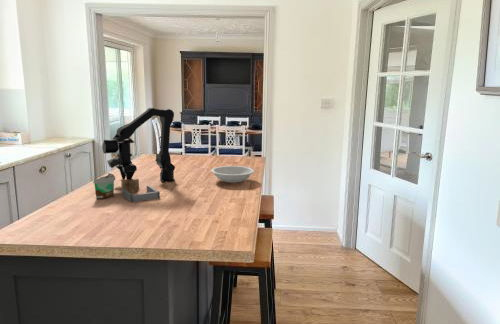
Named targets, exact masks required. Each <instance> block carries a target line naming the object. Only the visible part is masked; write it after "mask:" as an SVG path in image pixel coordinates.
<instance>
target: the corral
mask: <svg viewBox="0 0 500 324" xmlns="http://www.w3.org/2000/svg"><path fill="white" fill-rule="evenodd" d="M121 195H122V197H124V198H125V199H126V200H127V201H128V202H129V203H136V202H142V201H149V200H154V199H155V200H156V199H160V198H161V195H160V191H159V190H158V189H156V188H154V187H153V186H151V185H146V192H145V193H138V194H136V193H135V194H133V193H132V192H129V190H125V189H122V188H121Z"/></svg>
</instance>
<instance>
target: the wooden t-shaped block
mask: <svg viewBox="0 0 500 324" xmlns="http://www.w3.org/2000/svg"><path fill="white" fill-rule="evenodd" d="M120 182H121V183H120V184H121V190H122V189H125V190H127V191H128V192H129V191H130V193H131V194H133V193H138V190H139V189H140V181H139V178H138V177H136V178H132V179H126V178H125V180H123V179H121V180H120Z"/></svg>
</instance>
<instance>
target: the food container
mask: <svg viewBox="0 0 500 324" xmlns="http://www.w3.org/2000/svg"><path fill="white" fill-rule="evenodd" d="M115 181H116V176H115V175H114V174H113V173H111V172H110V173H107V175H105V176H101V177H99V178H93V184H94V190H95V191H94V192H95V198H96V200H108V199H112V198H113V197H114V196H115V195H114V191H115V190H114V189H115V188H114V187H115Z"/></svg>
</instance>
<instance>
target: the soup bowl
mask: <svg viewBox="0 0 500 324" xmlns="http://www.w3.org/2000/svg"><path fill="white" fill-rule="evenodd" d="M211 173H213V174H214V175H215V177H216V179H219V180H220V181H222V182H225V183H232V184H233V183H242V182H245V181H246V180H248V179H249V178H250V177H251V175H252V174H254V173H255V170H254V169H253V168H251V167H248V166H242V165H224V166H216V167H213V168H212V169H211Z"/></svg>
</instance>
